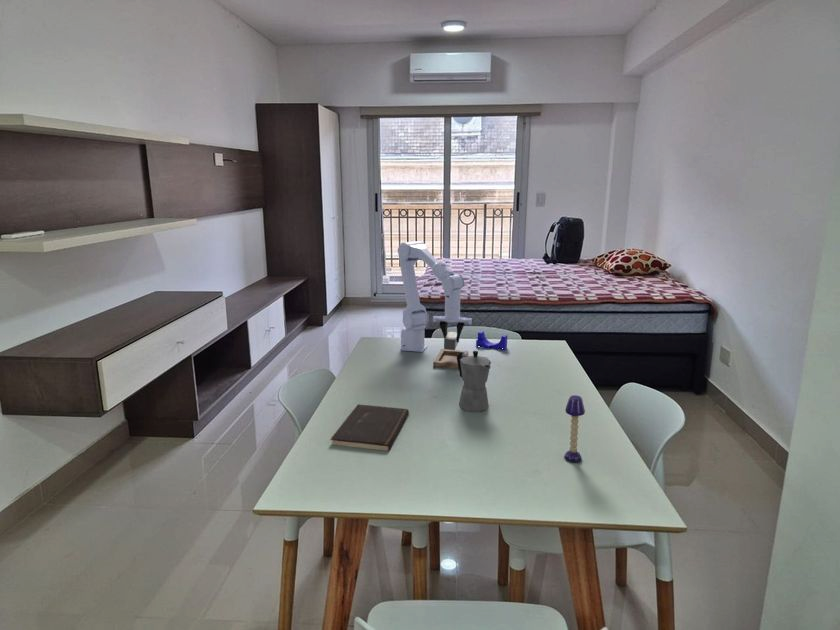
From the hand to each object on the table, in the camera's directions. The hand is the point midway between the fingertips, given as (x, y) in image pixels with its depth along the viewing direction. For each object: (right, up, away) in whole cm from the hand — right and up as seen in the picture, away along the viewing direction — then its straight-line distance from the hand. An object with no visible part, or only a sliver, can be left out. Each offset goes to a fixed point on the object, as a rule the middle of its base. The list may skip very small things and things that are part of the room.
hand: (451, 341), depth 206 cm
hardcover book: (-26, -23, -54) cm, 64 cm away
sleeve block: (0, -2, 0) cm, 2 cm away
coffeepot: (+4, -18, -37) cm, 42 cm away
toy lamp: (+26, -27, -69) cm, 79 cm away
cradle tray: (0, -8, +2) cm, 8 cm away
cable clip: (+18, -4, +19) cm, 27 cm away
